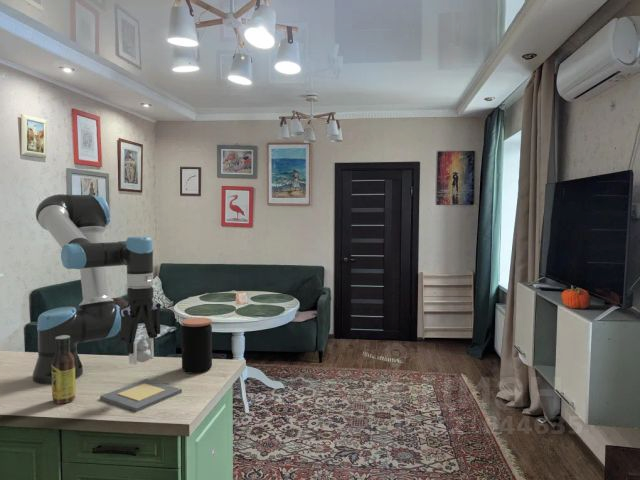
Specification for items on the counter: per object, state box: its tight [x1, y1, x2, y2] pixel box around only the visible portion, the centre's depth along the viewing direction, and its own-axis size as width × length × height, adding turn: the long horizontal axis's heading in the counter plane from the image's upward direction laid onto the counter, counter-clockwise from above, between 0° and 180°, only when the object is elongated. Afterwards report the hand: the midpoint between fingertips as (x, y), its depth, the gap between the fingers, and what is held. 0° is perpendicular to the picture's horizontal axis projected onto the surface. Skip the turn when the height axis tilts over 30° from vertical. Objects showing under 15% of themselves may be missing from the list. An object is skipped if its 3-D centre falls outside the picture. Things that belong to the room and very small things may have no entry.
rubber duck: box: [136, 336, 151, 363], centre depth 144 cm, size 5×7×8 cm
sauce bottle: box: [51, 335, 77, 405], centre depth 140 cm, size 7×6×20 cm
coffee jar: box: [181, 317, 213, 374], centre depth 170 cm, size 11×11×18 cm
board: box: [99, 378, 183, 413], centre depth 145 cm, size 17×17×1 cm
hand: (141, 360), depth 145 cm, fingers closed on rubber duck, 5 cm apart
